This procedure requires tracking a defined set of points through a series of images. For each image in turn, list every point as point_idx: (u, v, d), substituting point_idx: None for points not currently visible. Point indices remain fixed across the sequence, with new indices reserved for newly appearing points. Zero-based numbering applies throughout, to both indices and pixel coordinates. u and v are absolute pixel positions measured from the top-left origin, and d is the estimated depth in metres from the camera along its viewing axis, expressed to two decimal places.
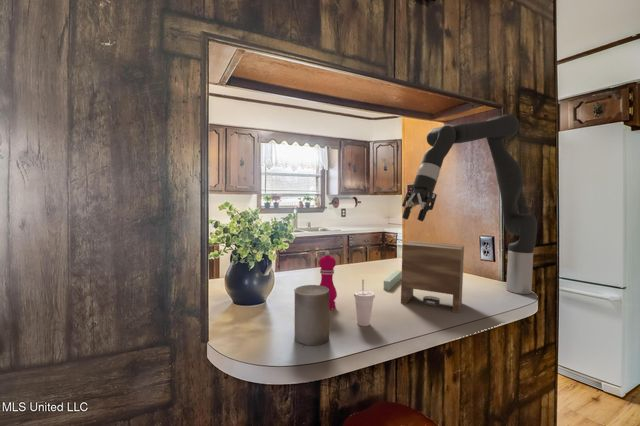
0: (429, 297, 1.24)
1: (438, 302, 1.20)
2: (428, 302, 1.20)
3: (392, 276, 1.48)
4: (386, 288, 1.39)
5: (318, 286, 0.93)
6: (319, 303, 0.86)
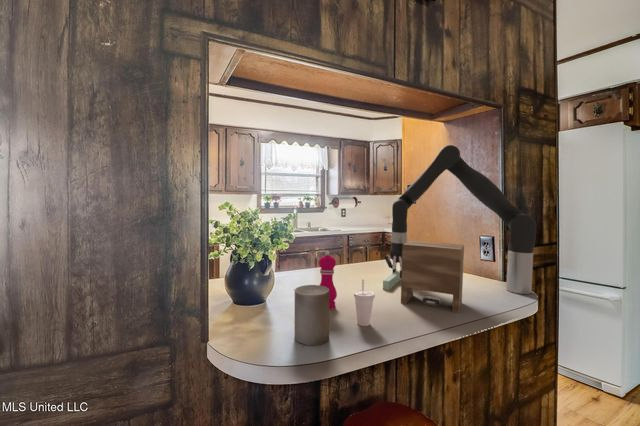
0: (429, 297, 1.24)
1: (438, 302, 1.20)
2: (429, 302, 1.20)
3: (392, 276, 1.48)
4: (385, 288, 1.39)
5: (318, 286, 0.93)
6: (319, 303, 0.86)
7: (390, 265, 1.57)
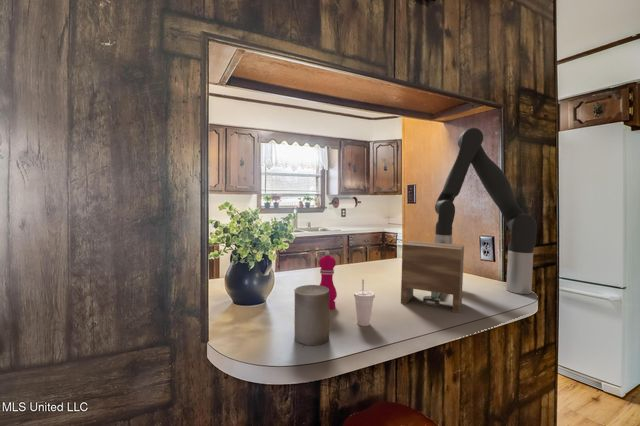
0: (429, 297, 1.24)
1: (438, 302, 1.20)
2: (429, 302, 1.20)
3: None
4: (434, 295, 1.29)
5: (318, 286, 0.93)
6: (319, 303, 0.86)
7: None
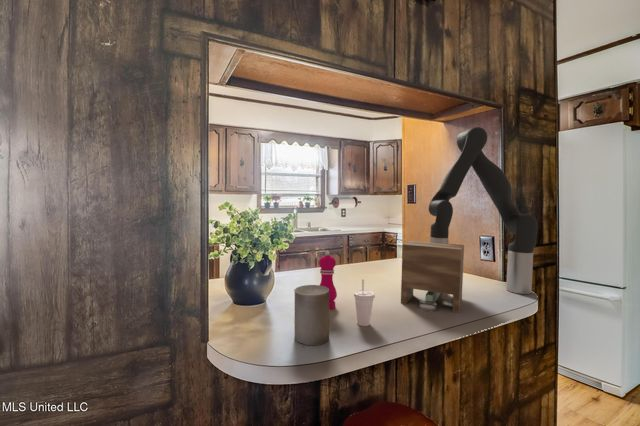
0: (425, 302, 1.18)
1: (434, 307, 1.14)
2: (424, 307, 1.14)
3: None
4: None
5: (318, 286, 0.93)
6: (319, 303, 0.86)
7: None
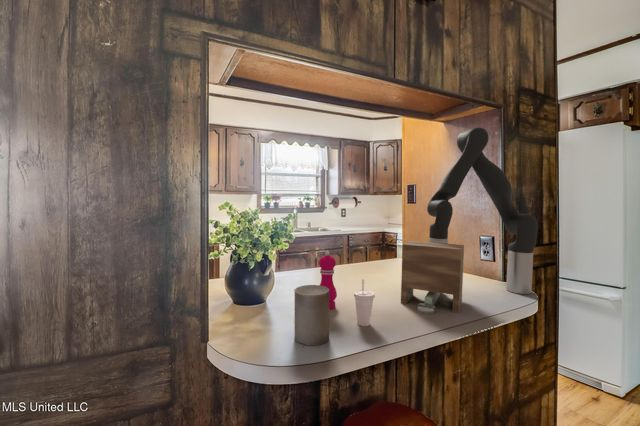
0: (424, 304, 1.15)
1: (433, 310, 1.12)
2: (423, 310, 1.12)
3: None
4: None
5: (318, 286, 0.93)
6: (319, 303, 0.86)
7: None
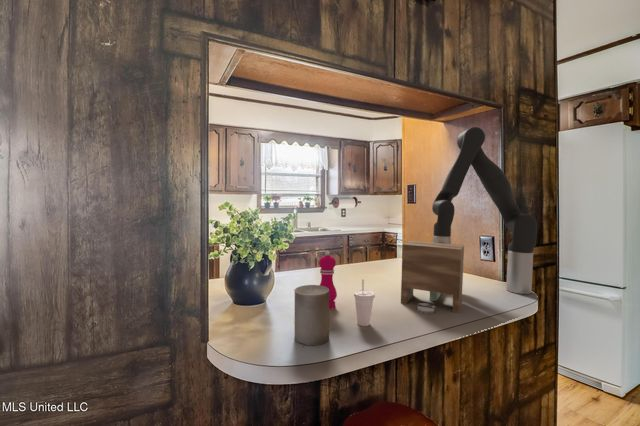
0: (424, 304, 1.15)
1: (433, 310, 1.12)
2: (423, 310, 1.12)
3: None
4: (433, 299, 1.25)
5: (318, 286, 0.93)
6: (319, 303, 0.86)
7: None
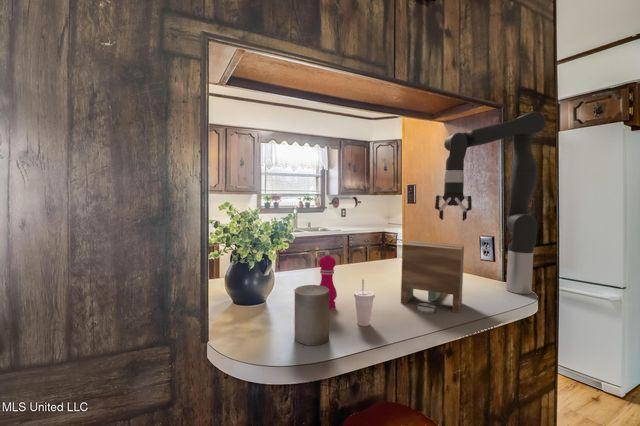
0: (424, 304, 1.15)
1: (433, 310, 1.12)
2: (423, 310, 1.12)
3: None
4: (431, 299, 1.26)
5: (318, 286, 0.93)
6: (319, 303, 0.86)
7: (437, 207, 1.40)
